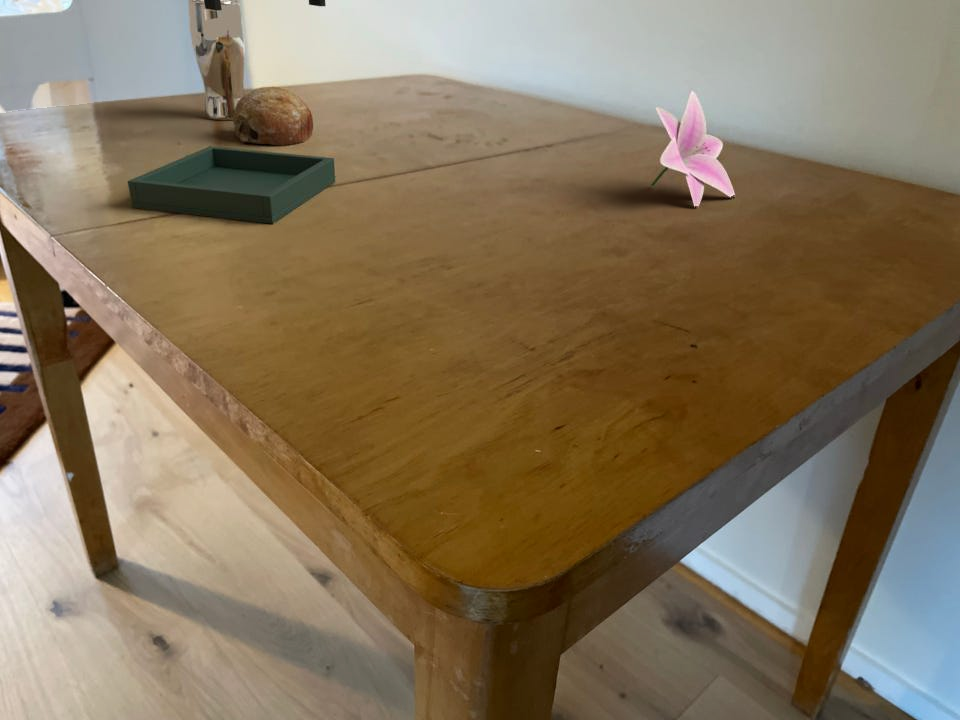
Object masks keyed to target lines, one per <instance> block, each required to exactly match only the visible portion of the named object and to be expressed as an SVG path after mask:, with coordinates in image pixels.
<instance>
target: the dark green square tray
mask: <svg viewBox="0 0 960 720" xmlns="http://www.w3.org/2000/svg"><path fill="white" fill-rule="evenodd" d="M335 168H336V167H335V158H334V157H326V156H316V155H305V154H294V153H285V152H274V151H265V150H264V151H263V150H253V149H245V148H244V149H242V148H235V147H222V146H212V145H210V146H207V147H205V148H202V149H200V150H198V151H196V152H193V153H190V154H188V155H186V156H184V157H181V158H178V159H177V160H174V161H172V162H170V163H167V164H164V165H163V166H159V167H157V168H155V169H152V170H150V171H148V172H146V173H144V174H141V175H139V176H136V177H134V178H132V179H129V180H127V187H128V192H129V197H130V201H131V202H130V203H131V208H132V209H141V210H149V211H157V212H167V213H174V214H176V213H177V214H183V215H192V216H202V217H208V218H209V217H210V218H218V219H228V220H237V221H244V222H253V223H254V222H256V223H261V224H269V225H270V224H271V225H273V224H275V223H276V222H278V221H279V220H282V219H283V218H284V217H285V216H287V215H288V214H290V213H291V212H293V211H294V210H296V209H298V208H299V207H300V206H302V205H304V204H305V203H306V202H308V201H309V200H311V199H312V198H314V197H315V196H317V195H318V194H320V193H321V192H323V191H324V190H326V189H327V188H329V187H330V186H332V185H333V184H334V183H336V171H335Z"/></svg>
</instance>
